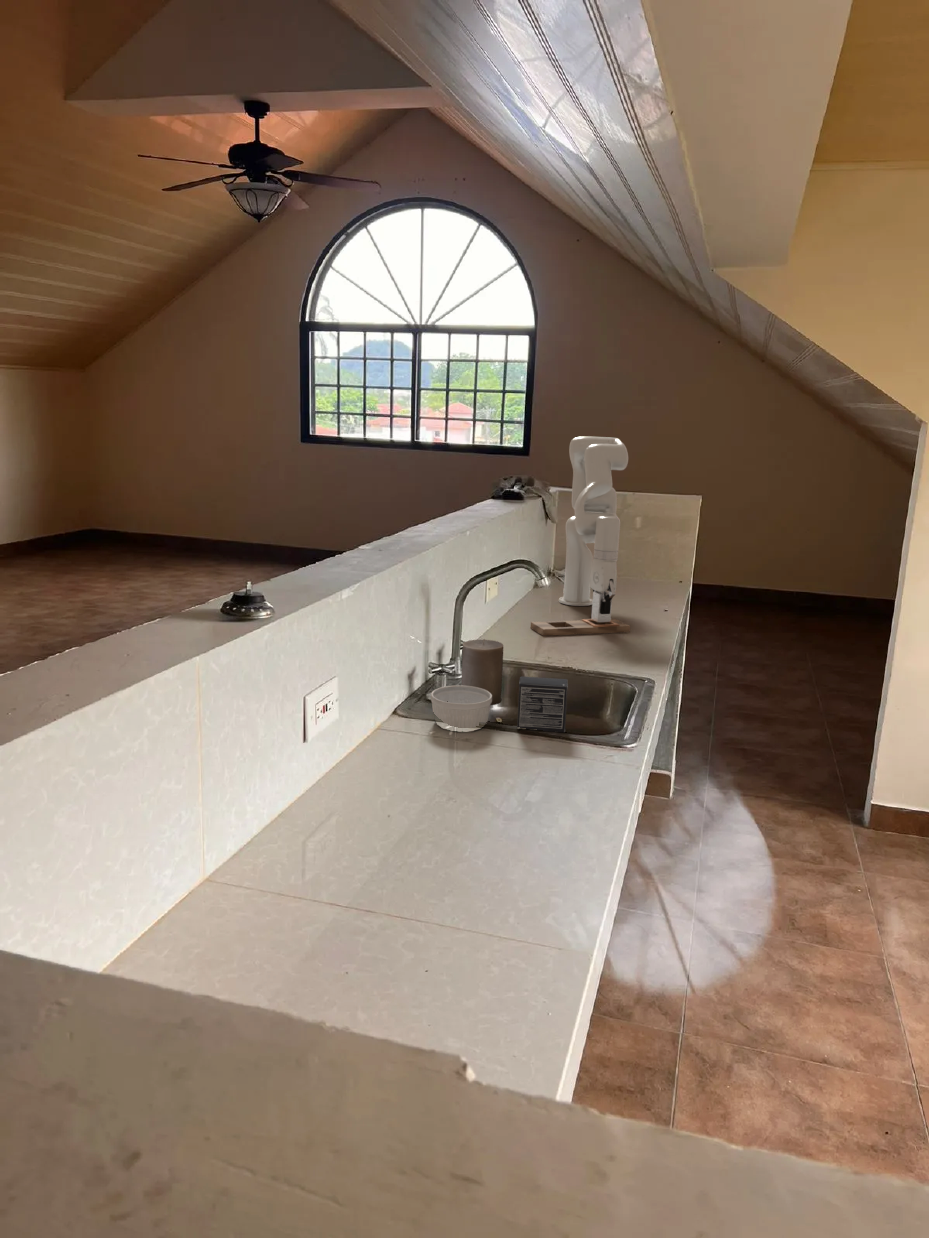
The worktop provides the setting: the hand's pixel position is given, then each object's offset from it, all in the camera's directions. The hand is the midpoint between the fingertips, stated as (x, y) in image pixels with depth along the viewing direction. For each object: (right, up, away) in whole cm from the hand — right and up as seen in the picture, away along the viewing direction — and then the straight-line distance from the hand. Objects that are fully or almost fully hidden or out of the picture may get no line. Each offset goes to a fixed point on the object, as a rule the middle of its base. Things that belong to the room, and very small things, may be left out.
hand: (601, 611), depth 288 cm
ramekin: (-45, -26, -91) cm, 105 cm away
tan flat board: (-7, -6, -1) cm, 9 cm away
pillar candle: (-40, -22, -74) cm, 87 cm away
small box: (-27, -26, -90) cm, 98 cm away
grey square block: (0, -3, +1) cm, 3 cm away
